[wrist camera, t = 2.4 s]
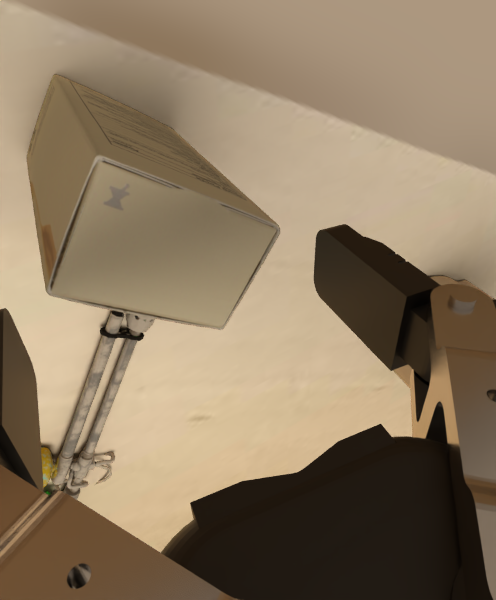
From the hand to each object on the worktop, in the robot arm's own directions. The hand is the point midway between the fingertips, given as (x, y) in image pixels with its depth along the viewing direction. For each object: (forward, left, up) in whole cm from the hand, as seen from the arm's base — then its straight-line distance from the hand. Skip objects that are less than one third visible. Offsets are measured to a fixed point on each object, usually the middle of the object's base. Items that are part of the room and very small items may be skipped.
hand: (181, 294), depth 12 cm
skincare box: (0, 0, -14) cm, 14 cm away
